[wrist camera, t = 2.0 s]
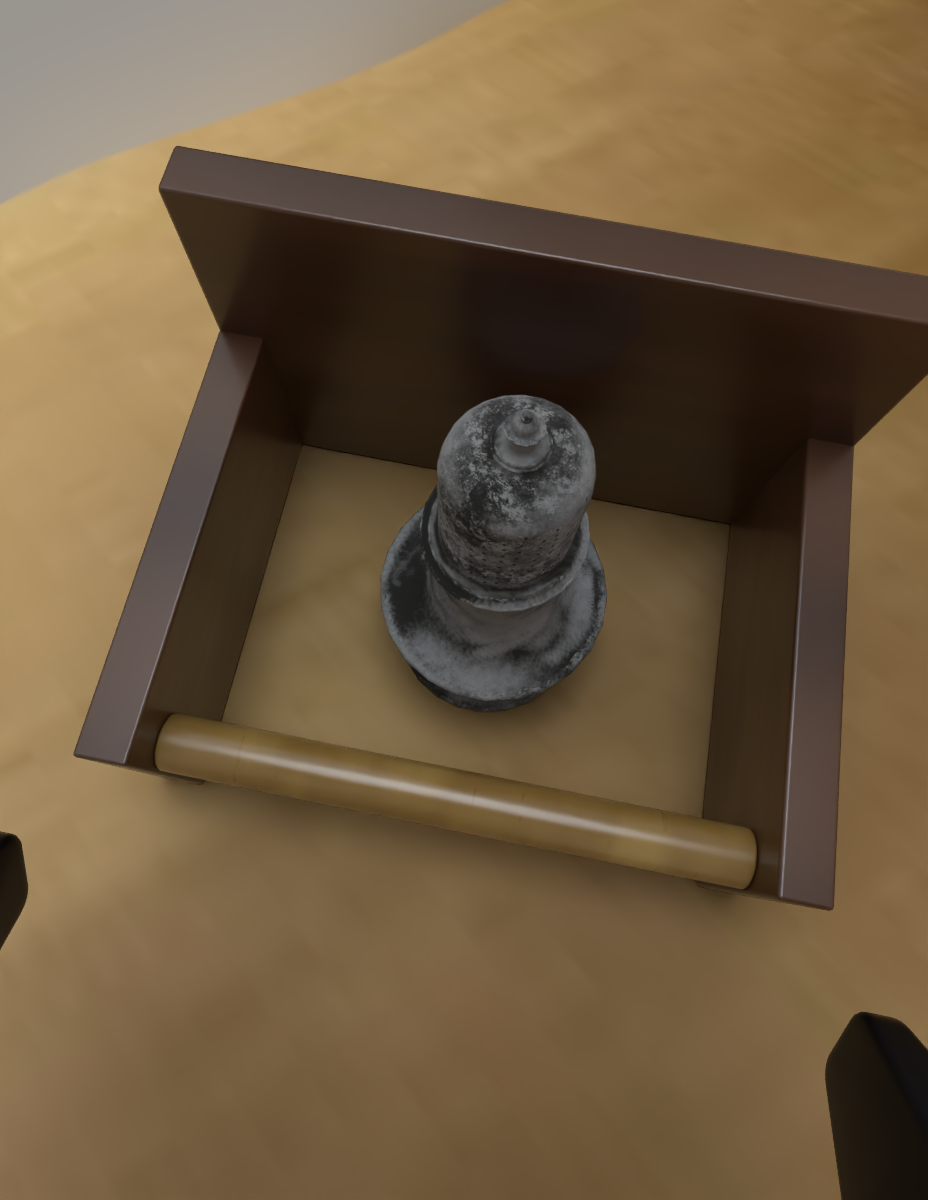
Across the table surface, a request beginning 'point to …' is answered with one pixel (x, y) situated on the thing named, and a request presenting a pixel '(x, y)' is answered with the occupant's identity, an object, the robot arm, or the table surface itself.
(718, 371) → the spice rack
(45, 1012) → the table surface
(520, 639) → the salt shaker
